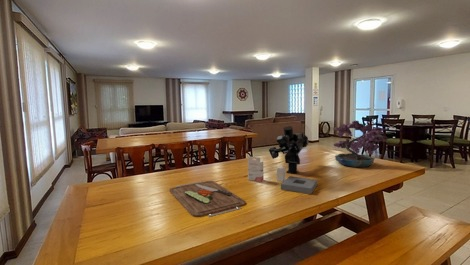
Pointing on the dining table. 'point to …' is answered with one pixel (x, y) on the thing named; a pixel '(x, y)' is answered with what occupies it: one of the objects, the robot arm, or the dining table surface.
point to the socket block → (299, 184)
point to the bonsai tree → (358, 144)
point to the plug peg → (281, 173)
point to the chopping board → (206, 198)
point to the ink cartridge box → (255, 169)
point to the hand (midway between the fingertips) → (279, 156)
